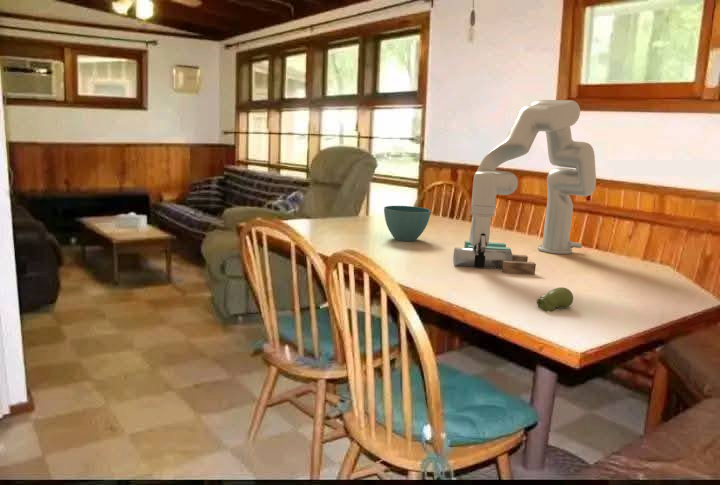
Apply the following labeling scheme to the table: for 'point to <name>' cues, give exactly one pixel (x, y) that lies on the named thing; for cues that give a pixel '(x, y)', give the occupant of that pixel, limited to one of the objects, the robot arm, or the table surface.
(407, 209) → the teal bowl
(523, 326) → the table surface
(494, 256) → the steel axle
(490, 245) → the teal V-block
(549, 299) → the pear
